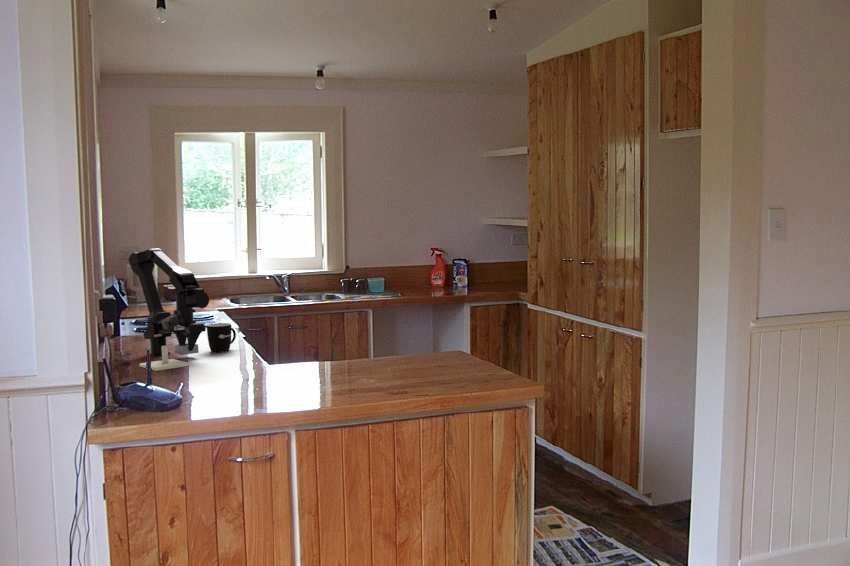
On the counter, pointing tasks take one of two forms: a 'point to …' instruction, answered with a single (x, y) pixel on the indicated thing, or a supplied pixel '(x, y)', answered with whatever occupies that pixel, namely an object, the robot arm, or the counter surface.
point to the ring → (185, 349)
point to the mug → (220, 337)
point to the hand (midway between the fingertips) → (186, 350)
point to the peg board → (166, 366)
